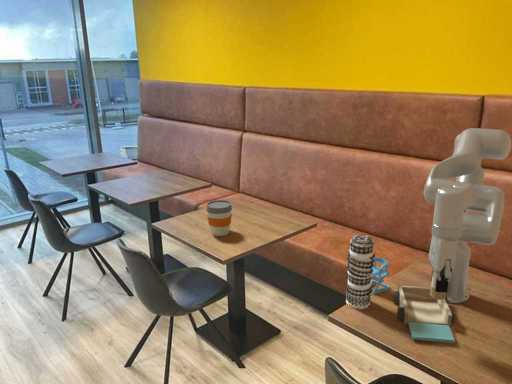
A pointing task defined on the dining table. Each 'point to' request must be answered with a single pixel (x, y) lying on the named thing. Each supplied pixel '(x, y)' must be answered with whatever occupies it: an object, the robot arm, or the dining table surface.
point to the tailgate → (430, 331)
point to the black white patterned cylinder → (360, 271)
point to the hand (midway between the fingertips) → (438, 286)
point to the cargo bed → (421, 306)
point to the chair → (380, 275)
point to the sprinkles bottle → (433, 284)
